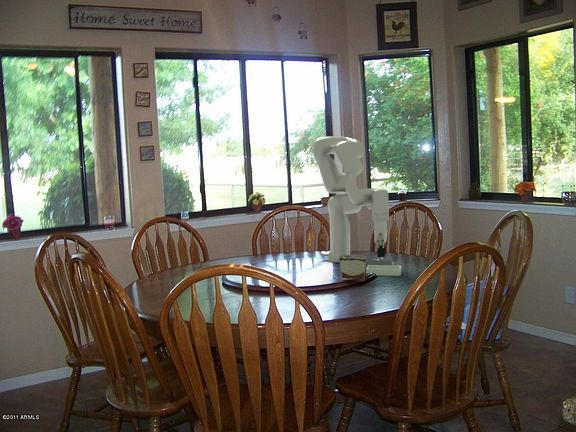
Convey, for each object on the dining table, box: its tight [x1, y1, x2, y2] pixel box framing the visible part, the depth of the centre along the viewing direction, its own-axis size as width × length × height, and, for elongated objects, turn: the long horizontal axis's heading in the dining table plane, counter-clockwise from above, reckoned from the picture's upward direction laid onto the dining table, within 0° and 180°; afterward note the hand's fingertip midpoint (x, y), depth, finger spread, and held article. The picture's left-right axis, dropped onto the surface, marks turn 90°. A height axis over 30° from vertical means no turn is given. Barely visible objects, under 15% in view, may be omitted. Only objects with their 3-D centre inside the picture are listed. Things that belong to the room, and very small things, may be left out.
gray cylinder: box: [368, 258, 395, 265], centre depth 289 cm, size 11×4×4 cm, turn 79°
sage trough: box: [365, 264, 402, 277], centre depth 279 cm, size 15×9×3 cm, turn 79°
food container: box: [338, 254, 369, 279], centre depth 268 cm, size 12×6×10 cm, turn 71°
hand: (381, 255), depth 288 cm, fingers open, 9 cm apart
